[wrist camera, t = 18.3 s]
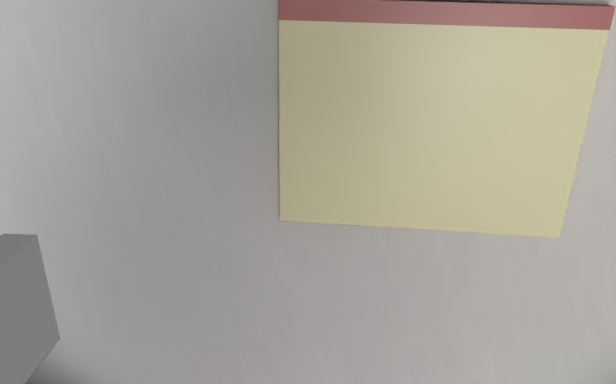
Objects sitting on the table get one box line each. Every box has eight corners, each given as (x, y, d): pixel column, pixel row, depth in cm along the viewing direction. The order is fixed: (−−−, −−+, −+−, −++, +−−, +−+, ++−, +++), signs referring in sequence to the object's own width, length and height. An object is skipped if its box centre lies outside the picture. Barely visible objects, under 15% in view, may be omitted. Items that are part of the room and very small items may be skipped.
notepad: (281, 215, 37) (279, 221, 36) (280, -4, 31) (278, -3, 30) (555, 231, 35) (559, 238, 34) (608, 5, 29) (615, 6, 29)
